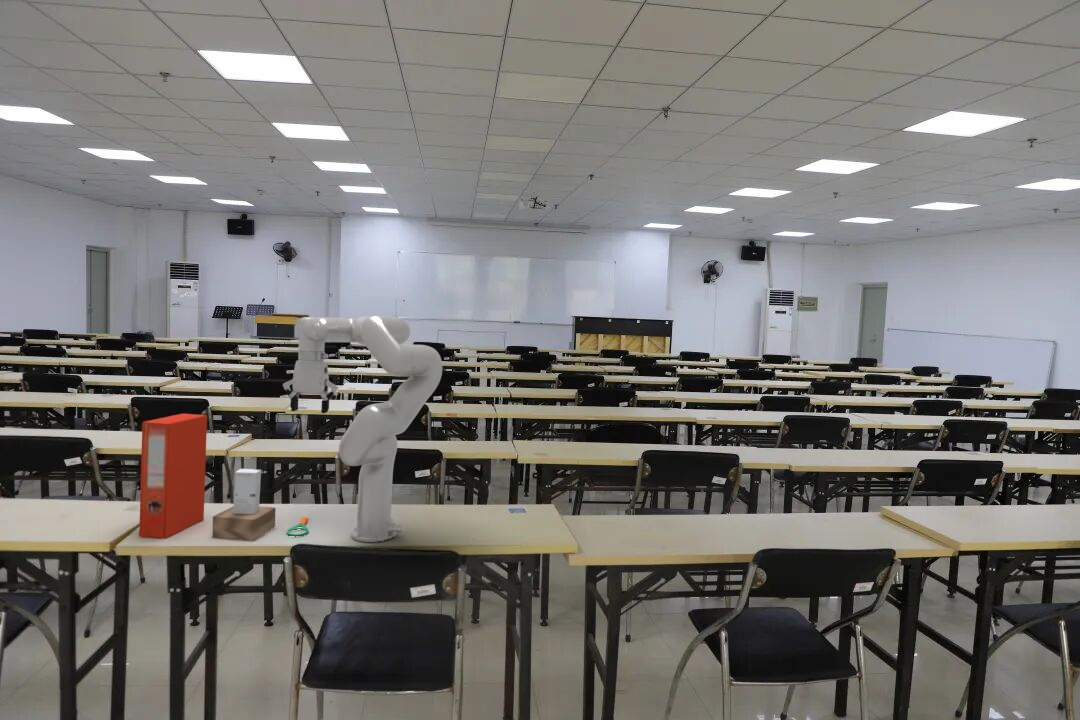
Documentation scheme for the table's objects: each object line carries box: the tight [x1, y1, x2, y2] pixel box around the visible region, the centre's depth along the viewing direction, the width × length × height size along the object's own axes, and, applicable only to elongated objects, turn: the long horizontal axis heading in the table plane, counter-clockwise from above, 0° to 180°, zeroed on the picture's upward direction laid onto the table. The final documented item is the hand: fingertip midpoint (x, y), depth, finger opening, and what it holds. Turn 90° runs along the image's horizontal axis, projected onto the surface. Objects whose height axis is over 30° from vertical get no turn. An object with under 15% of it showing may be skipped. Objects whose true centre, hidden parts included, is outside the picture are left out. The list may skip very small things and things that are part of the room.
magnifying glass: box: [286, 516, 310, 538], centre depth 190 cm, size 15×6×2 cm, turn 10°
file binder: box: [138, 413, 208, 540], centre depth 184 cm, size 8×17×32 cm, turn 176°
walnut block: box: [211, 505, 277, 541], centre depth 184 cm, size 12×12×6 cm
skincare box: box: [232, 468, 262, 514], centre depth 183 cm, size 6×4×12 cm
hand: (309, 411), depth 199 cm, fingers open, 9 cm apart
